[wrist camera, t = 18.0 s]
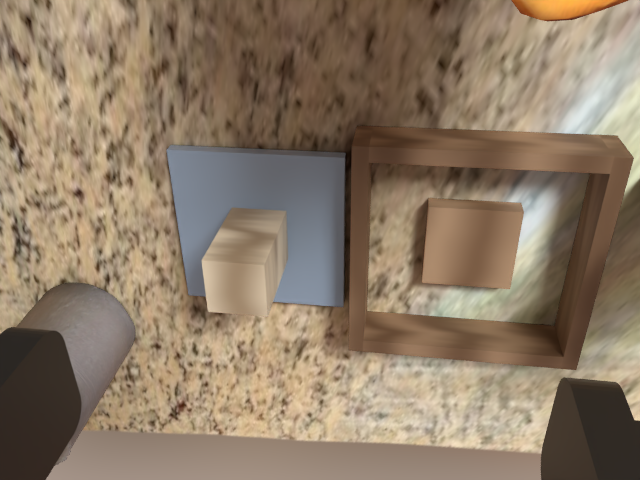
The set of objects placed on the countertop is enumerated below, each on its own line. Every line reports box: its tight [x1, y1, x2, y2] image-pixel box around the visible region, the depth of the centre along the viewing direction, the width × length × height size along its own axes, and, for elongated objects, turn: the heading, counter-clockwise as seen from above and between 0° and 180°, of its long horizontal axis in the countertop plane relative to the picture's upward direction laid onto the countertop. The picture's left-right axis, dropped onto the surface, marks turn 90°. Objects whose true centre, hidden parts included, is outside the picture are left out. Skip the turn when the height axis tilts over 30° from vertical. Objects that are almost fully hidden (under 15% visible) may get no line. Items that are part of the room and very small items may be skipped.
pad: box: [167, 145, 346, 307], centre depth 51 cm, size 14×14×1 cm
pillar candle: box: [17, 283, 135, 466], centre depth 53 cm, size 10×10×15 cm
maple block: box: [201, 207, 288, 317], centre depth 47 cm, size 4×4×8 cm
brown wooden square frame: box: [349, 126, 634, 370], centre depth 47 cm, size 18×18×4 cm
